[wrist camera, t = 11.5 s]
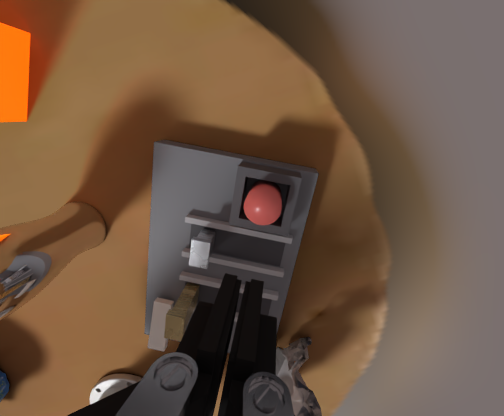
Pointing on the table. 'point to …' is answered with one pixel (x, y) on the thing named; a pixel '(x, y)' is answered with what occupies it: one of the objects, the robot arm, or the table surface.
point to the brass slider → (181, 312)
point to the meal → (297, 377)
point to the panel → (222, 224)
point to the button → (263, 203)
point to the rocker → (159, 324)
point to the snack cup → (3, 385)
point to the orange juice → (14, 73)
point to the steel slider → (202, 248)
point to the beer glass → (44, 251)
